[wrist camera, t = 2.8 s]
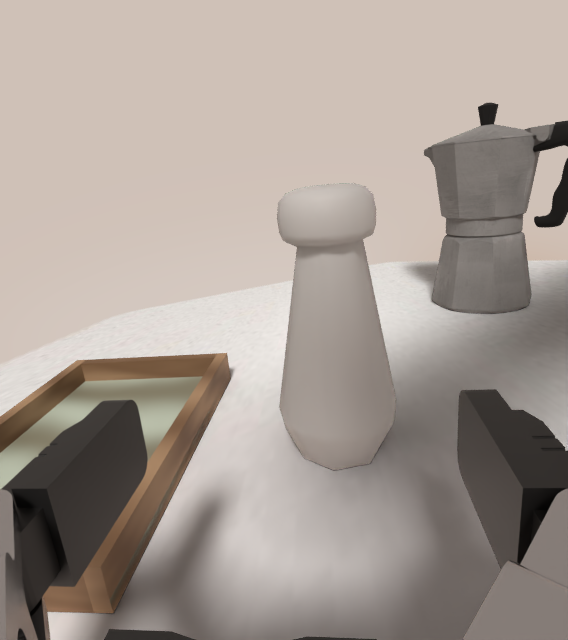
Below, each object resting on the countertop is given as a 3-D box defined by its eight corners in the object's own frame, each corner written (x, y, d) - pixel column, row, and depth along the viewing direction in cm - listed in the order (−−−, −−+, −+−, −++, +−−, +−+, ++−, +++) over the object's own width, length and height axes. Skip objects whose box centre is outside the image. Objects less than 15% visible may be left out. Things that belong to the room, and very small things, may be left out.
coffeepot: (397, 300, 48) (393, 115, 42) (451, 282, 53) (455, 114, 48) (548, 331, 36) (571, 78, 30) (601, 304, 41) (628, 82, 35)
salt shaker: (281, 484, 21) (248, 194, 17) (285, 420, 26) (262, 189, 23) (409, 478, 21) (406, 179, 17) (387, 414, 26) (380, 178, 22)
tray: (83, 384, 34) (77, 360, 34) (230, 378, 33) (226, 353, 32) (-177, 605, 17) (-199, 562, 16) (113, 613, 15) (100, 566, 15)
